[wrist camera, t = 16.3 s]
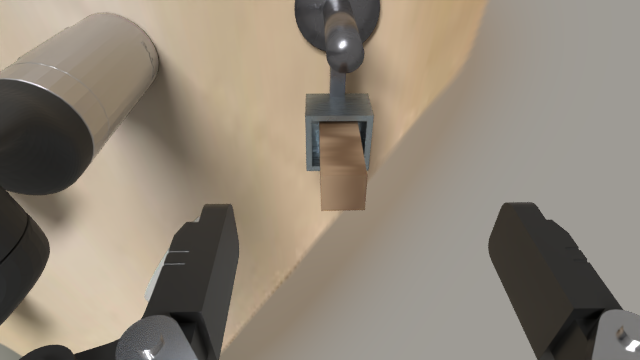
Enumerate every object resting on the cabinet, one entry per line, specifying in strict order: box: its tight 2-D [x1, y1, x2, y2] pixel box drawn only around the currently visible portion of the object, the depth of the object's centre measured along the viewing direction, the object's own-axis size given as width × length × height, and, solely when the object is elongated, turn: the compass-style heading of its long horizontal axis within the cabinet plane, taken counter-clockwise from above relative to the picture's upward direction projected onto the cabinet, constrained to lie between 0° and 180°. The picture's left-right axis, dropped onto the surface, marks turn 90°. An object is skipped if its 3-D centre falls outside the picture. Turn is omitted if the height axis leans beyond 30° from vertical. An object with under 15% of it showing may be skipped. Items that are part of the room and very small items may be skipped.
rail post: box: [319, 121, 367, 211], centre depth 39 cm, size 4×4×12 cm
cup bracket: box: [295, 0, 380, 171], centre depth 40 cm, size 9×19×14 cm, turn 0°
